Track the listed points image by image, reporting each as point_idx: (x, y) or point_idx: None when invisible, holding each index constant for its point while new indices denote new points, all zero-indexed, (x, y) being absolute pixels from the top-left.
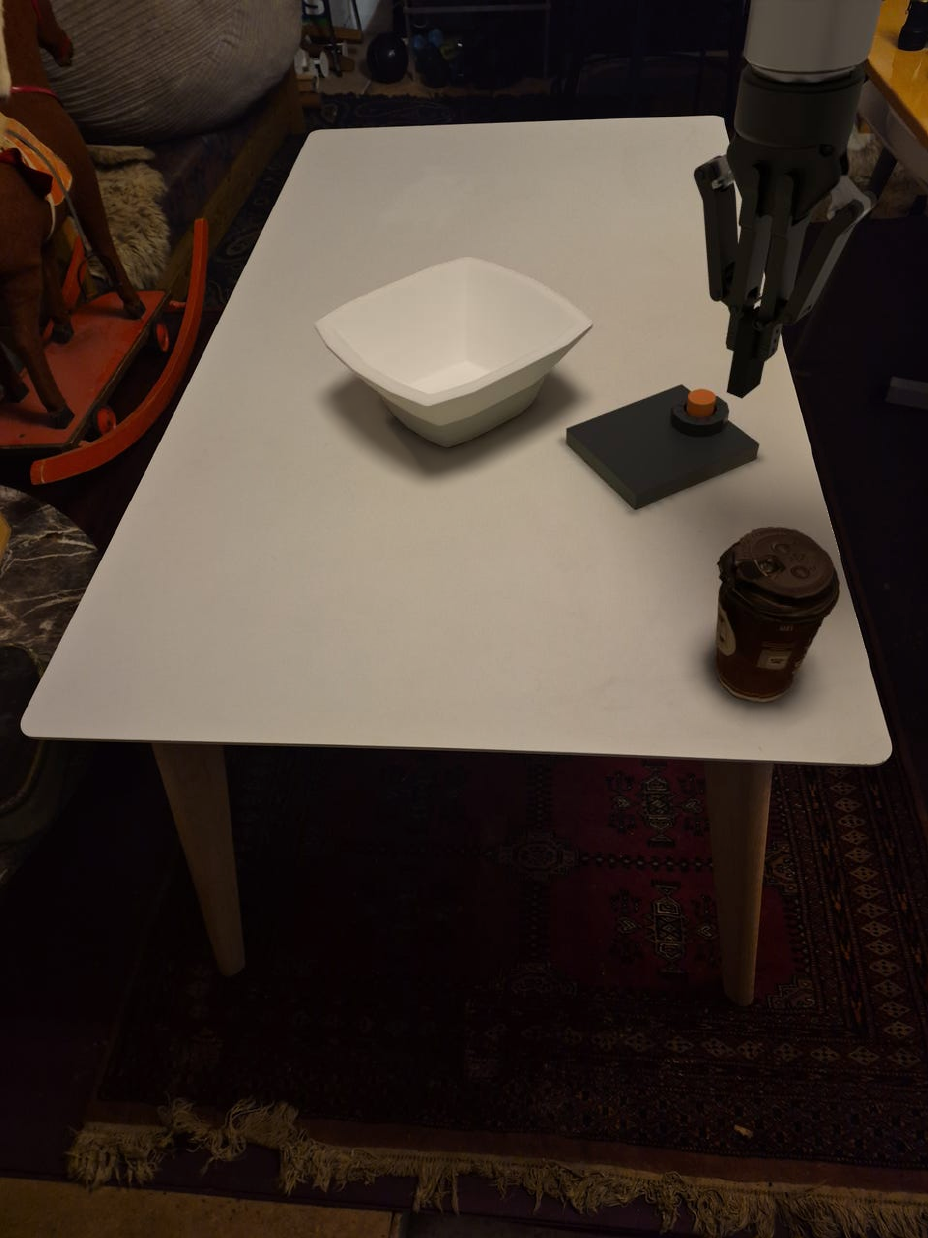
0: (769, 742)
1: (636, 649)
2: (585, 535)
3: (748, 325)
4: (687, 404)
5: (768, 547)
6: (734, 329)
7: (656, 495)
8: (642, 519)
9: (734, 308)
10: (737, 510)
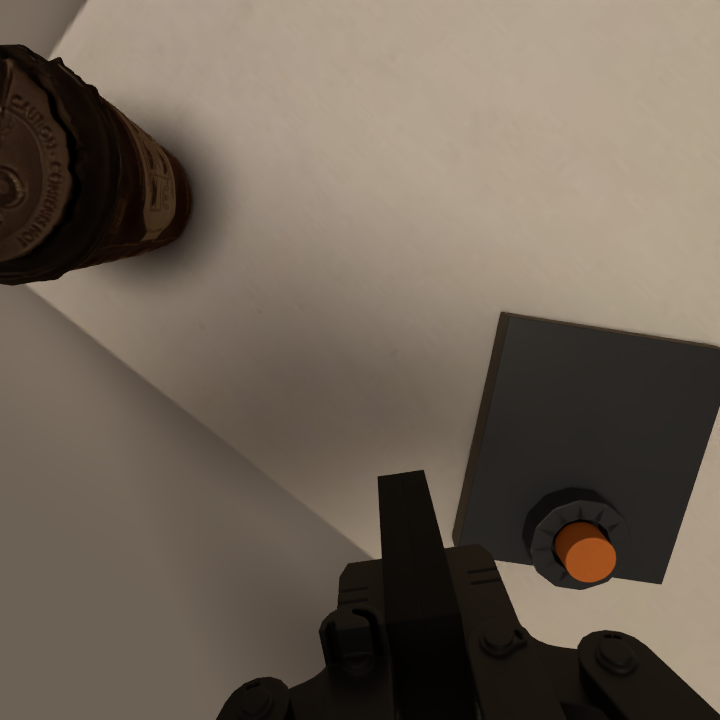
0: None
1: (271, 86)
2: (514, 204)
3: (413, 612)
4: (600, 533)
5: (20, 169)
6: (479, 593)
7: (494, 355)
8: (476, 305)
9: (498, 640)
10: (389, 429)
